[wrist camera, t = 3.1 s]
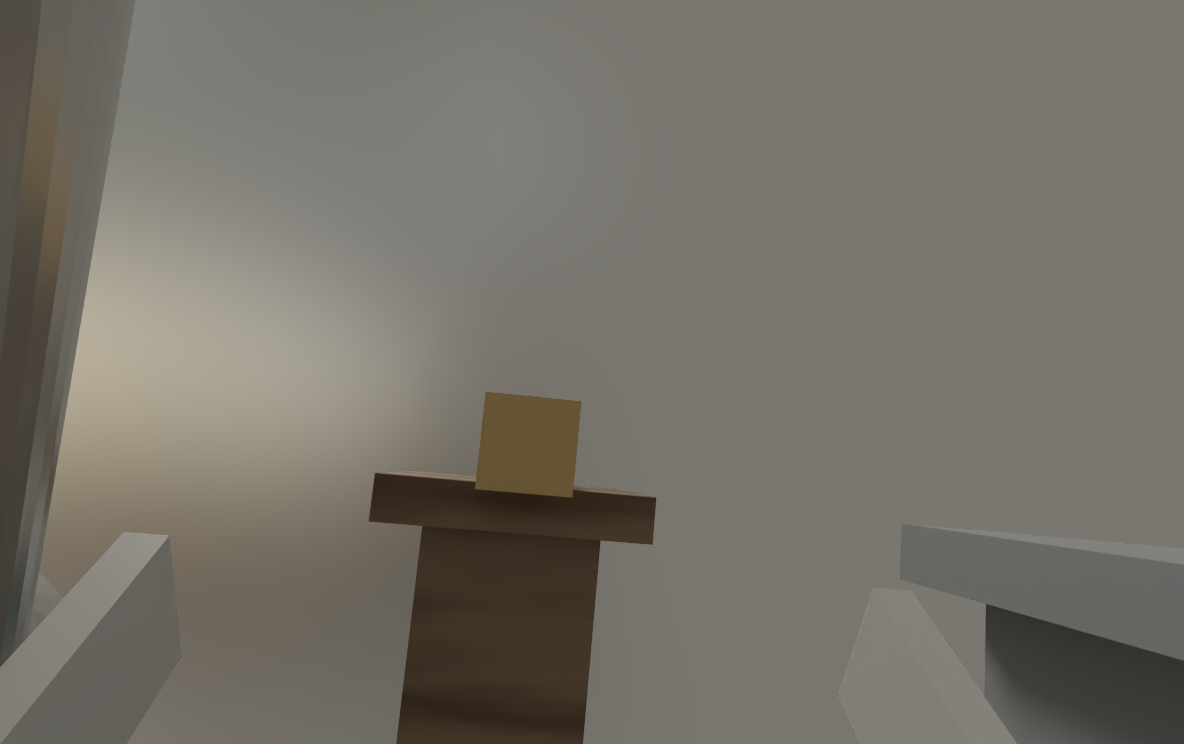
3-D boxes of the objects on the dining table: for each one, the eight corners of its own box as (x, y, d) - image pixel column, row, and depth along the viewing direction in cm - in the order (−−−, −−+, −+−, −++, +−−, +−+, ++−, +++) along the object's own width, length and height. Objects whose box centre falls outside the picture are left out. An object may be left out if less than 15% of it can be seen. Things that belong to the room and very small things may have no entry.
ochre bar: (572, 497, 23) (581, 401, 23) (475, 489, 23) (485, 391, 23) (539, 482, 45) (543, 432, 45) (489, 477, 44) (494, 427, 45)
